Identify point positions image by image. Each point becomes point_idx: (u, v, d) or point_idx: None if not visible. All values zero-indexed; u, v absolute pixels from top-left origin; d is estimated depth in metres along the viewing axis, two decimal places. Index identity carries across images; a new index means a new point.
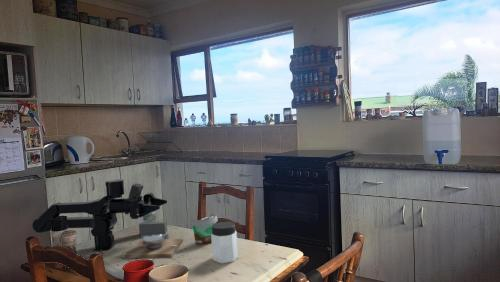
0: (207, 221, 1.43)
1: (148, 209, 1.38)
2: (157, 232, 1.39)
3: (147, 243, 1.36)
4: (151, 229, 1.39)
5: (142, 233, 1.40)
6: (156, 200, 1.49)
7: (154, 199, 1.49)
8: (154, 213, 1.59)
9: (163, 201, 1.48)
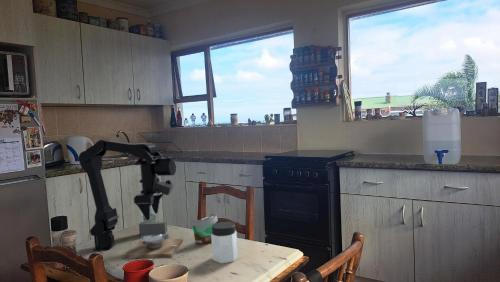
0: (207, 221, 1.43)
1: (144, 210, 1.34)
2: (157, 232, 1.39)
3: (147, 243, 1.36)
4: (151, 229, 1.39)
5: (142, 233, 1.40)
6: (157, 202, 1.45)
7: (157, 199, 1.45)
8: (154, 213, 1.59)
9: (156, 209, 1.44)
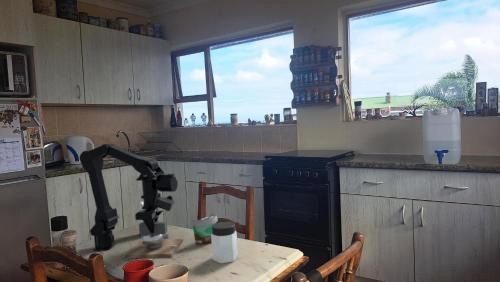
0: (207, 221, 1.43)
1: (149, 224, 1.38)
2: (157, 232, 1.39)
3: (147, 243, 1.36)
4: None
5: (142, 233, 1.40)
6: (155, 219, 1.42)
7: (156, 217, 1.42)
8: None
9: None
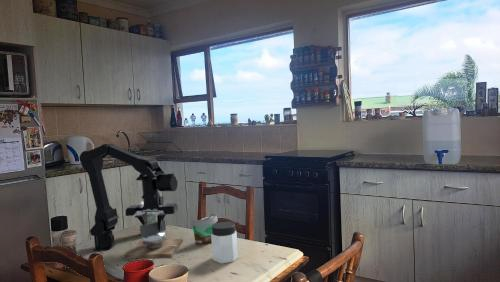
0: (207, 221, 1.43)
1: (161, 221, 1.40)
2: None
3: (159, 242, 1.37)
4: (154, 229, 1.39)
5: (147, 235, 1.37)
6: (146, 220, 1.41)
7: (146, 217, 1.41)
8: (154, 213, 1.59)
9: None
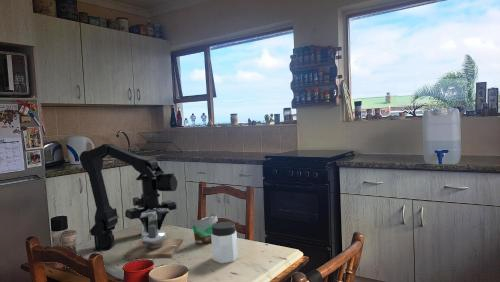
0: (207, 221, 1.43)
1: None
2: (157, 229, 1.43)
3: (165, 239, 1.40)
4: (156, 228, 1.40)
5: (155, 234, 1.37)
6: None
7: None
8: (154, 213, 1.59)
9: None
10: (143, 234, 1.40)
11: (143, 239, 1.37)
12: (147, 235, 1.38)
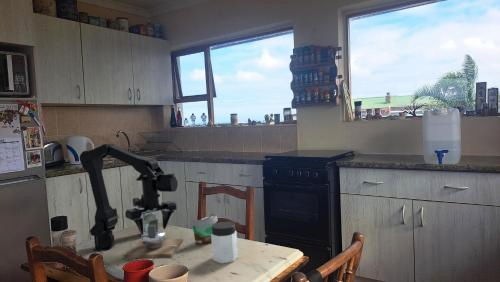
0: (207, 221, 1.43)
1: None
2: (157, 229, 1.43)
3: (165, 239, 1.40)
4: (156, 228, 1.40)
5: (155, 234, 1.37)
6: None
7: None
8: (154, 213, 1.59)
9: None
10: (143, 234, 1.40)
11: (143, 239, 1.37)
12: (147, 235, 1.38)
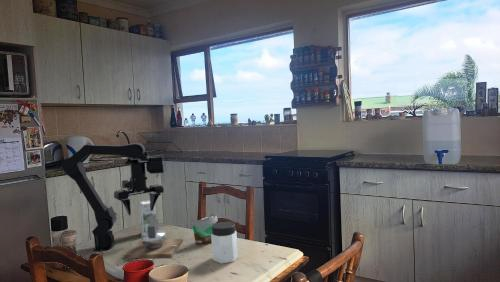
0: (207, 221, 1.43)
1: None
2: (157, 229, 1.43)
3: (165, 239, 1.40)
4: (156, 228, 1.40)
5: (155, 234, 1.37)
6: None
7: None
8: (154, 213, 1.59)
9: None
10: (143, 234, 1.40)
11: (143, 239, 1.37)
12: (147, 235, 1.38)
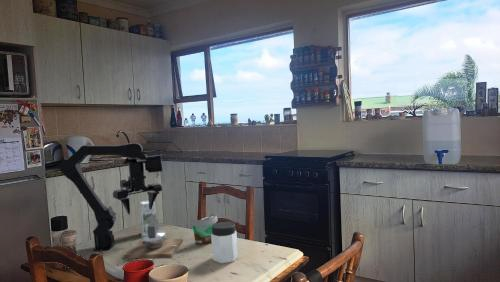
0: (207, 221, 1.43)
1: None
2: (157, 229, 1.43)
3: (165, 239, 1.40)
4: (156, 228, 1.40)
5: (155, 234, 1.37)
6: None
7: None
8: (154, 213, 1.59)
9: None
10: (143, 234, 1.40)
11: (143, 239, 1.37)
12: (147, 235, 1.38)
